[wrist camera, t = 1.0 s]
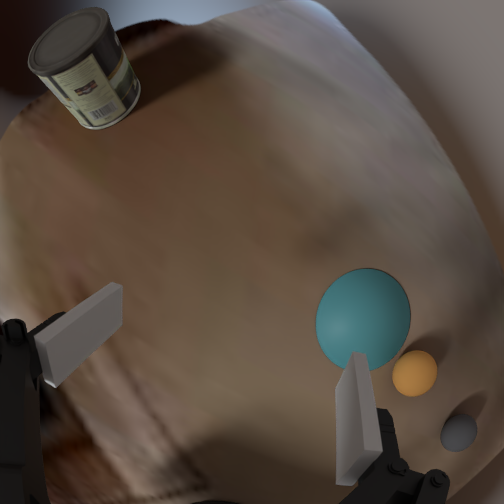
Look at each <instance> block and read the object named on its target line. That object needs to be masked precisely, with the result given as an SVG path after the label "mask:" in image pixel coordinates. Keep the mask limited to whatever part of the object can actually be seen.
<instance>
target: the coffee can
mask: <svg viewBox="0 0 504 504" xmlns="http://www.w3.org/2000/svg"><path fill="white" fill-rule="evenodd" d="M28 66H29V68H30V70H31V71H32V72H33V73H35V74H36V75H38V77H39V78H40V79H41V80H42V81H43V82H44V83H45V84H46V86H47V87H48V88H49V89H50V90H51V91H52V92H53V93H54V94H55V95H56V97H57V98H58V99H59V100H60V101H61V102H62V103H63V104H64V105H65V106H66V107H67V109H68V110H69V111H70V112H71V113H72V114H73V115H74V116H75V117H76V118H77V119H78V121H79V122H80V124H81V125H82V126H84V127H86V128H89V129H103V128H106V127H109V126H112V125H114V124H116V123H117V122H119V121H120V120H122V119H123V118H124V117H125V116H127V115H128V114H129V113H130V111H131V110H132V109H133V108H134V106H135V105H136V103H137V101H138V99H139V96H140V91H141V87H140V82H139V80H138V79H137V77H136V75H135V73H134V71H133V69H132V67H131V65H130V63H129V61H128V59H127V57H126V55H125V53H124V51H123V48H122V46H121V44H120V42H119V40H118V38H117V35H116V33H115V31H114V29H113V27H112V25H111V22H110V18H109V15H108V13H107V12H106V11H105V10H104V9H102V8H98V7H90V8H84V9H81V10H78V11H75V12H73V13H71V14H69V15H66V16H65V17H63V18H61V19H60V20H58V21H57V22H56V23H54V24H53V25H52V26H50V27H49V28H48V29H47V30H46V31H45V32H44V33H43V34H42V35H41V36H40V38H39V39H38V40H37V41H36V43H35V44H34V46H33V48H32V50H31V52H30V54H29V58H28Z"/></svg>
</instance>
